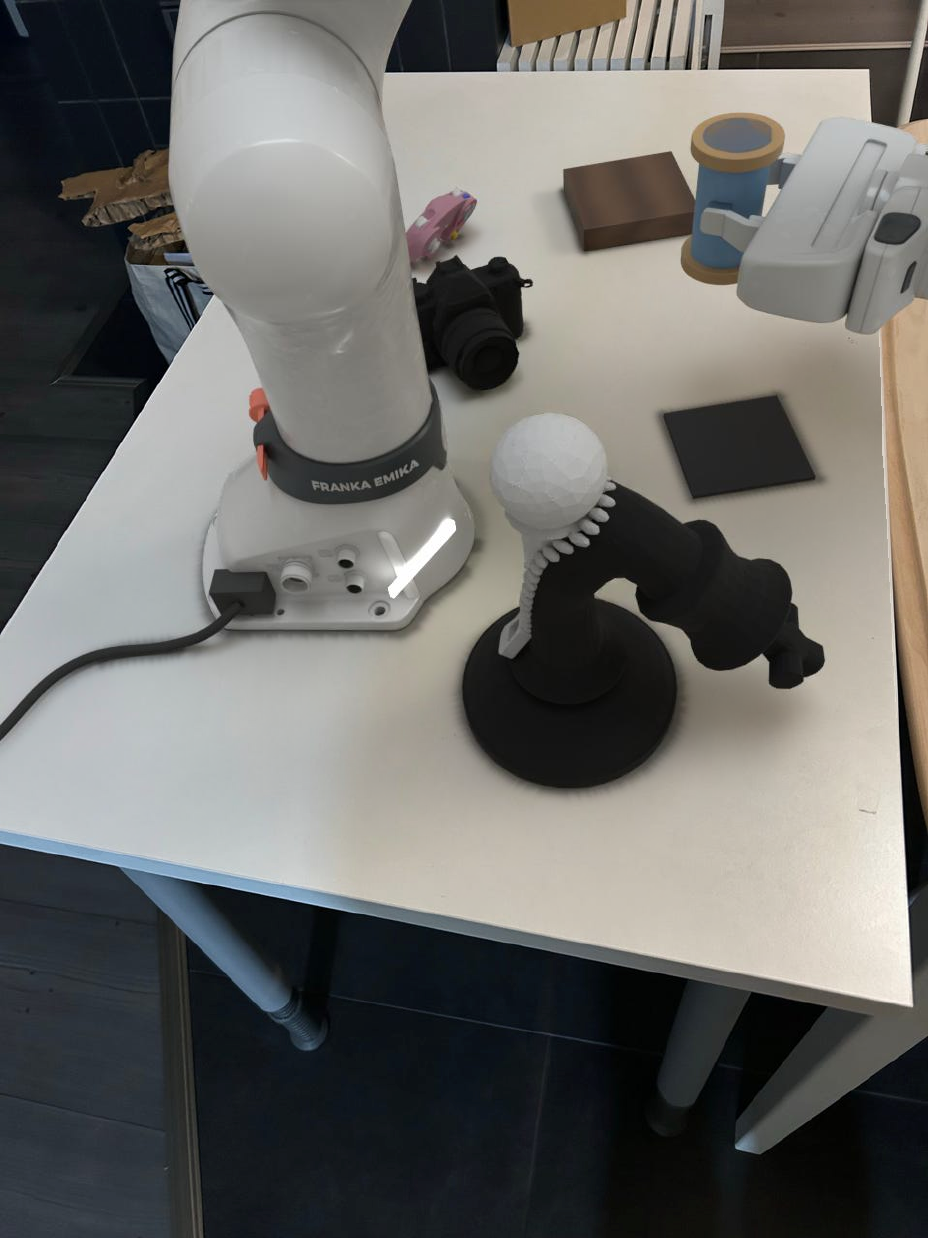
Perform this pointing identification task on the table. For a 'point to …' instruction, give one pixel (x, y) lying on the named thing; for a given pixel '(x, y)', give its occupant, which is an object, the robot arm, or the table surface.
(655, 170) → the platform
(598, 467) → the sculpture
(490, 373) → the film camera
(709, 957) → the table surface
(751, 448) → the coaster
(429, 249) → the pink toy car
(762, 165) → the spool
